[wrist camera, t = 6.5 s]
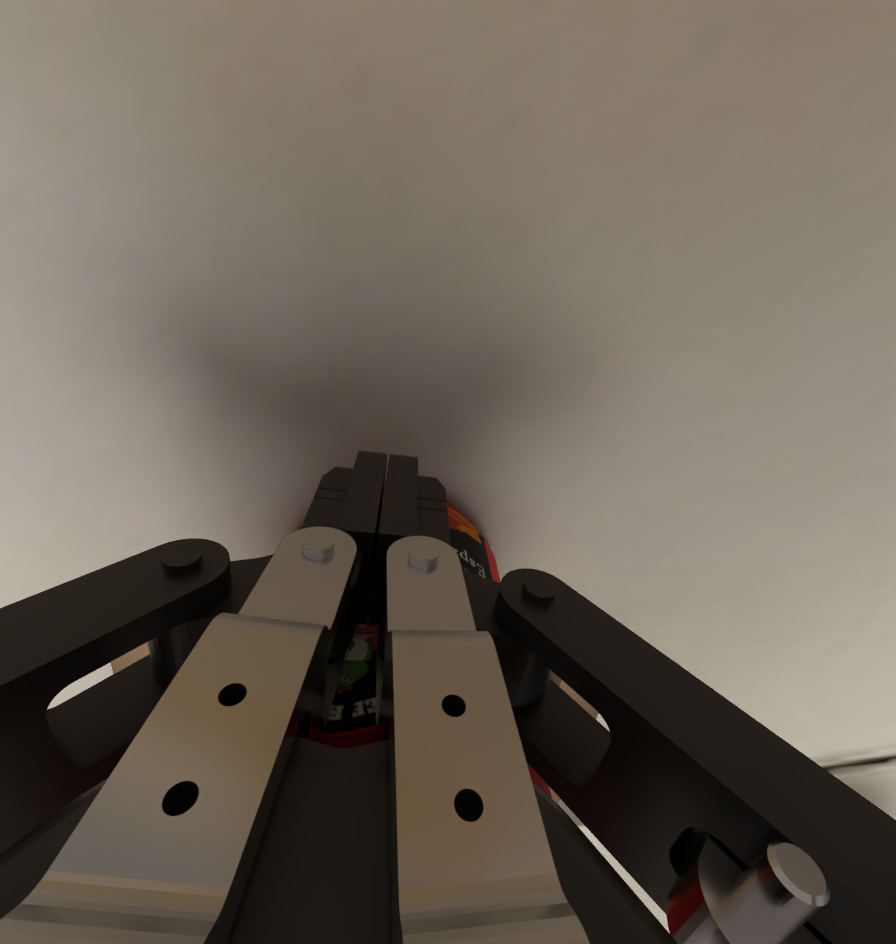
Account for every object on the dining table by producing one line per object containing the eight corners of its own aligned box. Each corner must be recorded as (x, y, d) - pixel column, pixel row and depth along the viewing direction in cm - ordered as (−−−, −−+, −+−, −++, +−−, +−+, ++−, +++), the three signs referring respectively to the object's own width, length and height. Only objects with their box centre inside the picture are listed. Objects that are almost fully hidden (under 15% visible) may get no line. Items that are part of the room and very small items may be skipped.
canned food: (499, 473, 15) (658, 943, 5) (492, 648, 18) (573, 1119, 8) (259, 482, 14) (-92, 1003, 5) (300, 659, 18) (156, 1158, 8)
